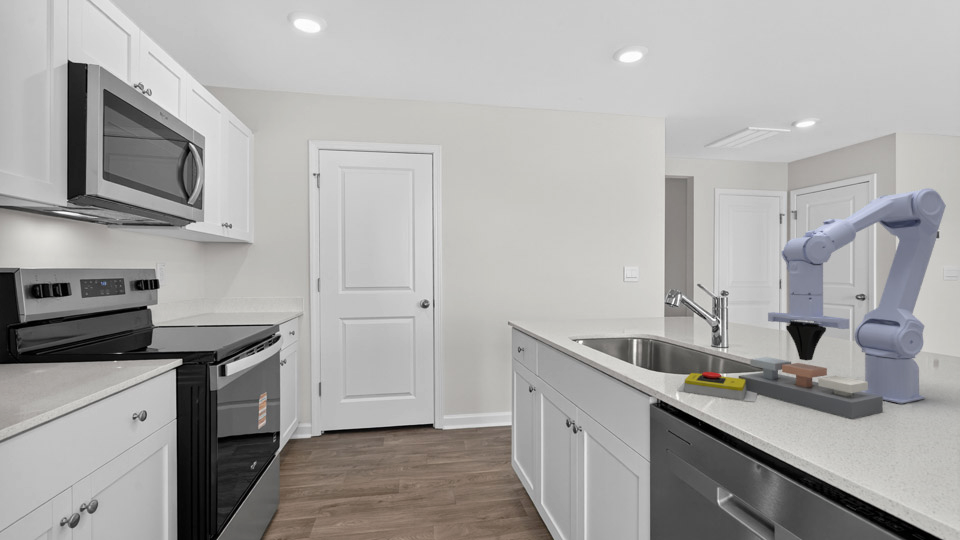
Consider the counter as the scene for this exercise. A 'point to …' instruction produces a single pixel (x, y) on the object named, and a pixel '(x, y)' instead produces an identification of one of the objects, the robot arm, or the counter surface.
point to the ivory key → (843, 385)
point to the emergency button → (717, 387)
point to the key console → (814, 396)
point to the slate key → (769, 366)
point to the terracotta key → (804, 373)
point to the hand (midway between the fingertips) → (805, 359)
